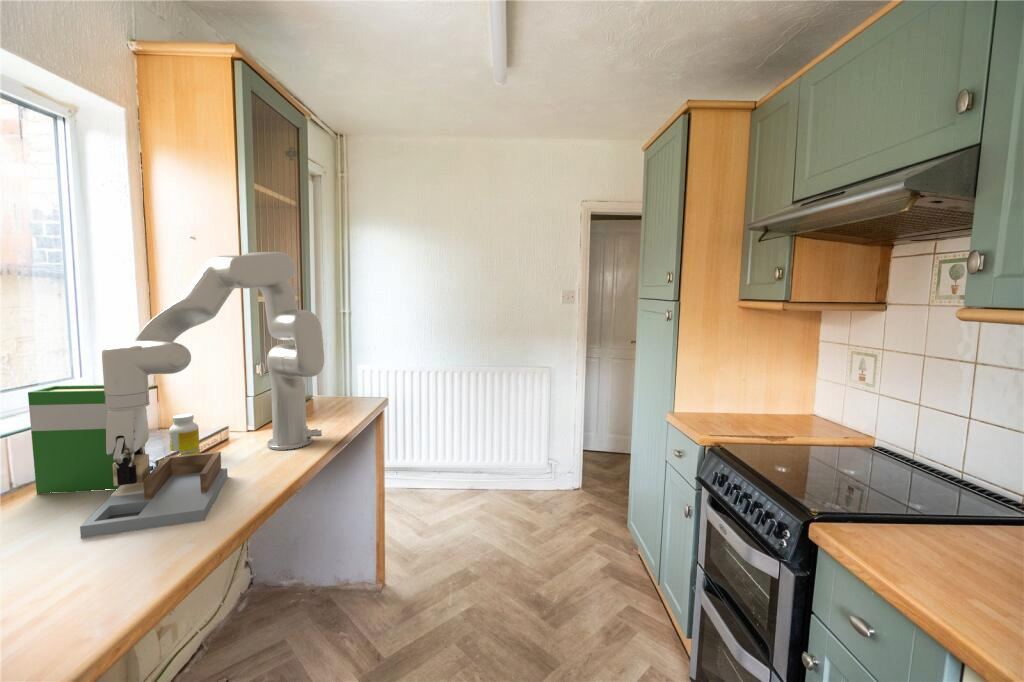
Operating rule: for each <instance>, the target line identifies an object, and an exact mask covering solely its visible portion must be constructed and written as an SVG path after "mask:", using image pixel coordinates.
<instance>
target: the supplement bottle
mask: <svg viewBox="0 0 1024 682" xmlns="http://www.w3.org/2000/svg"><path fill="white" fill-rule="evenodd" d="M172 421H173V424H172V425H171V426H170V427H169V429H168V433H169V449H170V451H179V452H181V455H189V454H200V453H201V449H200V434H199V433H200V431H199V429H200V428H199V424H197V423H196V422H194V414H193V413H181V414H176V415H173V416H172ZM170 451H169V452H170Z"/></svg>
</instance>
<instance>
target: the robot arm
mask: <svg viewBox="0 0 1024 682" xmlns="http://www.w3.org/2000/svg"><path fill="white" fill-rule="evenodd" d="M296 269H297V267H296V262H295V260H294V259H293V258H292V257H291V256H290V255H289V254H288V253H285V252H282V251H257V252H256V251H254V252H253V251H251V252H247V253H244V254H242V255H217V256H213V257H211V258H210V259H208V260H207V261H206V262H205V264H204V265H203V266H202V268H201V269H200V270H199V271H198V273H197V274H196V276H195V277H194V278H193V279H192V281H191V282H190V284H189V285H188V287H187V288H186V289H185V291H184V292H183V293H182V295H181V296H180V297H179V298H178V299H177V300H175V302H173V303H172V304H170V305H169V306H167V307H166V308H165V309H164V310H162V311H161V312H160V313H158V314H157V315H155V316H154V317H153V318H151V320H149V322H147V323H146V324H145V326H144V327H143V328H142V329H141V330H140V332H139V333H138V335H137V336H136V337H135V339H133V341H132V343H130V344H127V343H126V344H114V345H108V346H106V347H104V348H103V349H102V351H101V363H102V379H103V385H104V395H105V409H106V410H108V413H107V421H106V453H107V455H109V456H110V455H113V454H114V456H113V460H114V461H115V463H116V468H117V481H118V485H127V484H135V483H136V482H137V477H136V465H134V455H141V454H146V449H145V448H146V444H147V442H148V441H149V438H150V437H149V436H150V435H149V431H150V430H149V420H148V413H147V410H148V409H147V407H148V406H150V403H151V402H150V393H149V392H150V389H149V385H150V384H149V376H150V375H172V374H178V373H181V372H182V371H184V370H185V369H186V368H187V367H188V366H189V365H190V363H191V361H192V355H191V352H190V350H189V348H187V347H186V346H185V345H183V344H181V343H178V342H175V341H176V339H177V338H179V336H180V335H182V334H184V333H185V332H187V331H188V330H190V329H192V328H193V327H194V328H195V327H197V326H200V325H202V324H205V323H207V322H208V321H211V320H213V319H214V318H215V317H216V316H217V315H218V313H219V312H220V310H221V309H222V307H223V306H224V304H225V303H226V301H227V300H228V299H229V297H230V295H231V294H232V292H233V291H234V290H235V289H253V288H256V289H257V288H258V289H259V291H260V292H261V294H262V297H263V301H264V308H265V313H266V314H265V316H266V323H267V330H268V332H269V335H270V337H272V338H273V339H276V340H279V341H287V342H288V341H289V342H294V344H293V343H282V344H277V345H275V346H273V347H272V348H271V349H270V350H269V351H268V352H267V356H266V366H267V371H268V375H269V380H270V387H271V389H270V390H271V392H270V393H271V394H270V395H271V415H272V416H271V417H272V418H271V419H272V420H271V421H272V438H271V439H269V440H268V441H267V444H266V445H267V448H269V449H270V450H277V451H286V450H287V449H288V450H294V448H295V449H299V447H300V448H302V446H303V447H305V445H306V446H308V445H310V444H311V443H312V442H313V437H322V436H323V435H322V431H323V430H322V429H320V430H319V429H318V428H314V429H309V428H308V427H309V426H308V425H307V405H306V404H307V401H306V400H307V399H306V398H307V397H306V385H305V384H306V383H305V381H304V378H312V377H315V376H318V375H319V374H320V373H321V372H322V370H323V368H324V366H325V365H324V364H325V349H324V340H323V339H324V338H323V331H322V324H321V322H320V320H319V317H318V316H317V315H316V314H315V313H313V312H312V311H309V310H306V309H298V306H297V305H298V304H297V300H296V294H295V291H294V290H295V289H294V287H293V285H292V284H291V282H290V280H291V279H293V277H294V276H295V273H296V272H297V271H296ZM124 450H128V453H124ZM126 455H129V460H128V458H127V457H124V456H126Z"/></svg>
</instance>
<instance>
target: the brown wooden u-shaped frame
mask: <svg viewBox="0 0 1024 682" xmlns="http://www.w3.org/2000/svg"><path fill="white" fill-rule="evenodd" d="M221 468H222V455H221V451H212V452H202V453H201V452H200V454H189V455H179V456H171V455H170V456H165V457H164V458H163V459H162V460H161V461H160V463H158V464H157V466H156V467H154V468H153V470H152V471H150V474H149V475H148V476H147V477H146V478H145V479H144V480H143V482H144V498H145V500H152V498H153V497H154V496H155V495H156V494H157V492H158V491H159V490H160V489H161V488H162V486H163V485H164V484H165V483H166V482H167V480H168V479H169V478H170V477H171V476H172V475H181V474H191V473H200V472H201V473H200V485H201V493H207V492H208V490H209V489H210V487H211V485H212V484H213V482H214V480H215V478H216V477H217V475H218V473H219V472H220V470H221Z"/></svg>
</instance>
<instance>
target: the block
mask: <svg viewBox="0 0 1024 682" xmlns="http://www.w3.org/2000/svg"><path fill="white" fill-rule="evenodd" d="M124 457H127V458H128V460H129V456H124ZM112 465H113V480H114V486H118V481H117V468H116V463H115V462H114V463H113V464H112ZM134 465H136V477H137V482H136V483H142V482H143V480H144V479H145V478H146V477H147V476H148V475H149V474H150V473H151V467H150V453H145V454H141V455H134ZM136 483H135V484H136Z"/></svg>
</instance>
